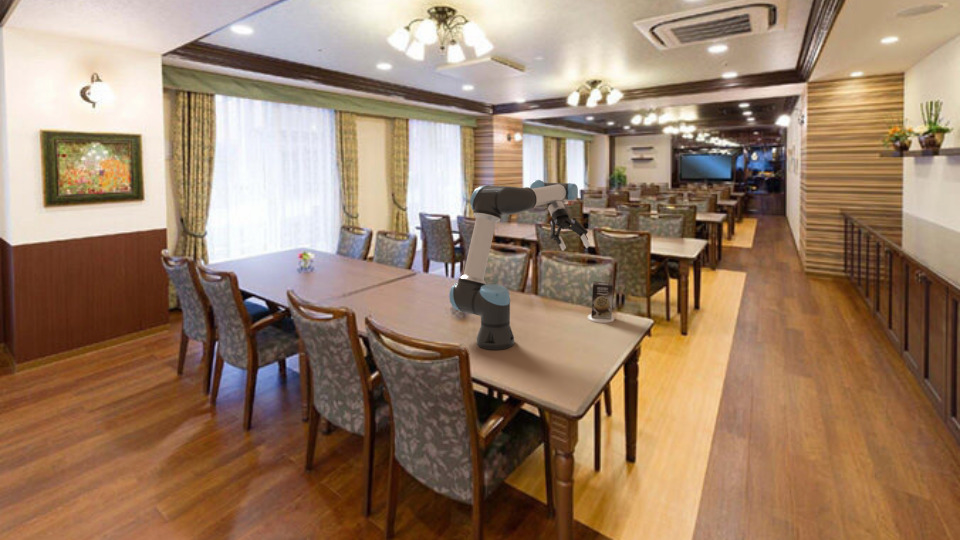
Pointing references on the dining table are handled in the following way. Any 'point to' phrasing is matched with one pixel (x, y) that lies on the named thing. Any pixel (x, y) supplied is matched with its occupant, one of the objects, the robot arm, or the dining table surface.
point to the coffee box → (602, 300)
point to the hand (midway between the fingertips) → (576, 247)
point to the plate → (601, 319)
